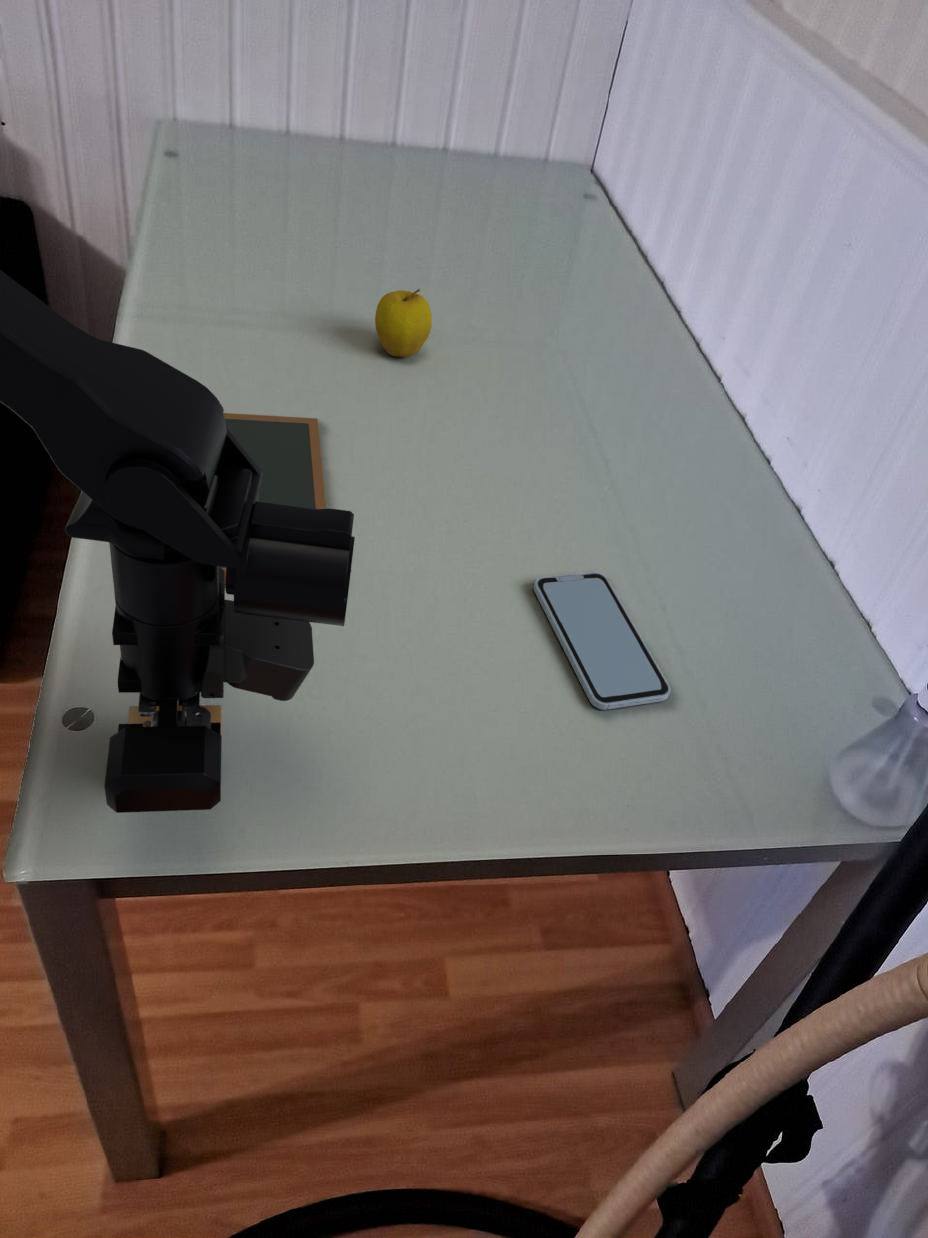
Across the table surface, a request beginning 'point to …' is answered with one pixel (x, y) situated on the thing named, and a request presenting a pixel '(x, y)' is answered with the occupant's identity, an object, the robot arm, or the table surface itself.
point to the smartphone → (601, 641)
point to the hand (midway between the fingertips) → (176, 756)
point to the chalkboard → (282, 458)
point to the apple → (403, 322)
